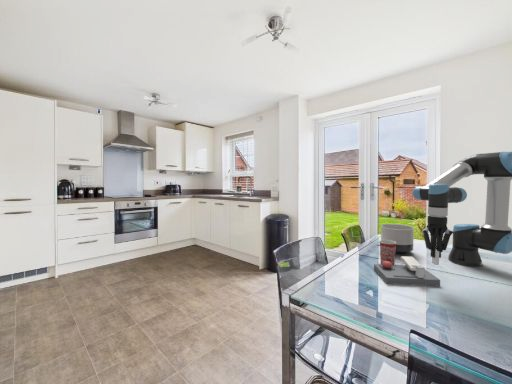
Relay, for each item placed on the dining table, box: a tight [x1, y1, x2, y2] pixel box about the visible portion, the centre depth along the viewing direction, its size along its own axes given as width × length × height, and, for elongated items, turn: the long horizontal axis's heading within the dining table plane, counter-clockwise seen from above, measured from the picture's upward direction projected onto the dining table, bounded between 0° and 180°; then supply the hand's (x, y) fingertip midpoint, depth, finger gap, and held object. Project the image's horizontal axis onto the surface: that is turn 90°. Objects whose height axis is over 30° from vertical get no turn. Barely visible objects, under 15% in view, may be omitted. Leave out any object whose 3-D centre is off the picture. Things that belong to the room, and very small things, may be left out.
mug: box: [379, 239, 397, 265], centre depth 142 cm, size 13×9×14 cm
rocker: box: [400, 256, 422, 271], centre depth 124 cm, size 6×12×2 cm, turn 171°
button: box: [381, 261, 392, 268], centre depth 127 cm, size 4×4×2 cm
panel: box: [373, 263, 441, 287], centre depth 122 cm, size 24×18×5 cm
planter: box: [380, 223, 415, 254], centre depth 161 cm, size 19×19×18 cm
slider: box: [416, 265, 426, 278], centre depth 114 cm, size 3×3×5 cm
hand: (435, 263), depth 113 cm, fingers closed
